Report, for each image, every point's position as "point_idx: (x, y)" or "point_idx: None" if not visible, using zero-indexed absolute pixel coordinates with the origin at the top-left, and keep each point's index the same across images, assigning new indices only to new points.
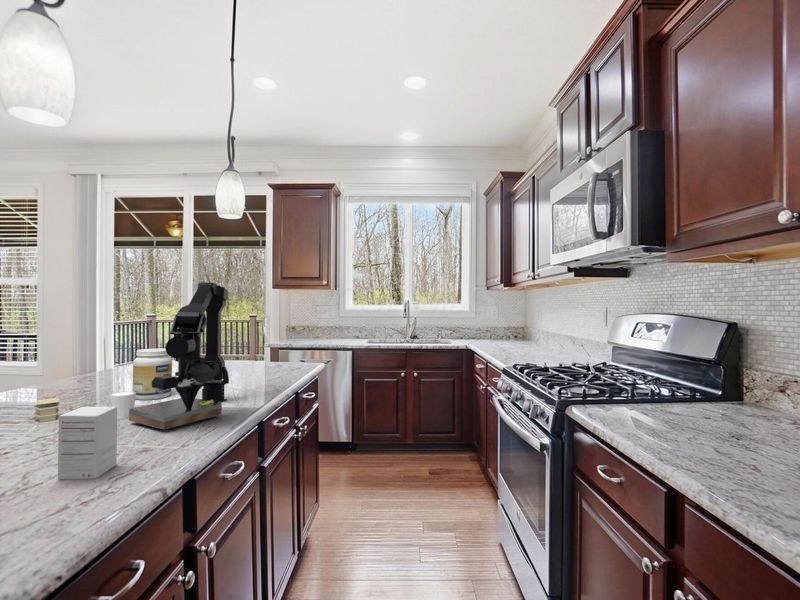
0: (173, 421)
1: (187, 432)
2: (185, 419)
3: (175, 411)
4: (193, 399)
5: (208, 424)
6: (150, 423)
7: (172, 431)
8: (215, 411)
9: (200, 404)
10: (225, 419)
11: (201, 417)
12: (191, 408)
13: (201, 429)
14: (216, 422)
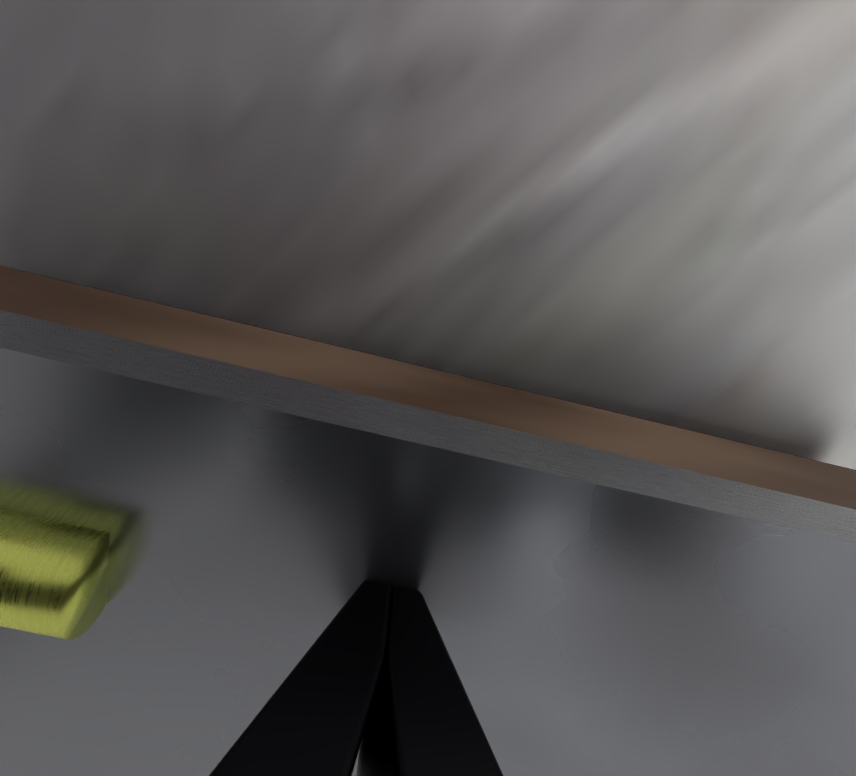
0: (801, 487)
1: (768, 199)
2: (595, 432)
3: (631, 675)
4: (306, 728)
5: (342, 184)
6: None
7: (746, 417)
8: (1, 294)
9: (93, 587)
10: (14, 109)
11: (310, 352)
12: (352, 581)
13: (596, 98)
14: (209, 136)
